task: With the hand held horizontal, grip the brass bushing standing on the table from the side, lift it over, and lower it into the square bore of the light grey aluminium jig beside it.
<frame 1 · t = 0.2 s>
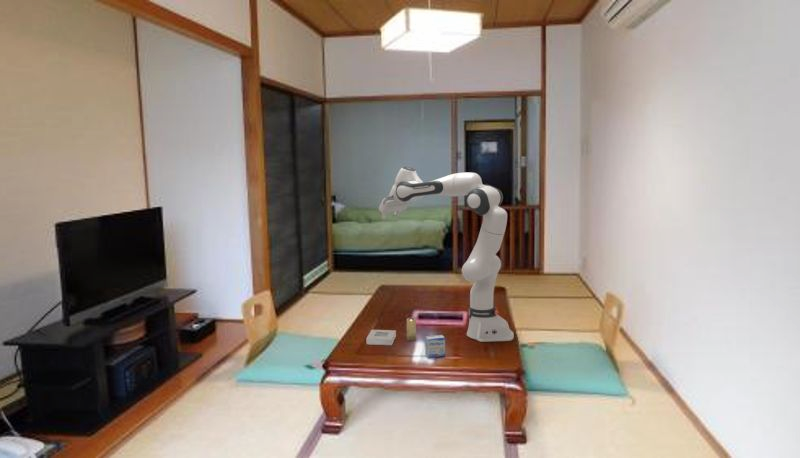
hand: (388, 217, 291), 54 cm above the table, tool tilted 25°, fingers open, 8 cm apart
medicine box: (435, 356, 242), on the table
brass bushing: (411, 339, 262), on the table
aluminium jig: (381, 340, 262), on the table
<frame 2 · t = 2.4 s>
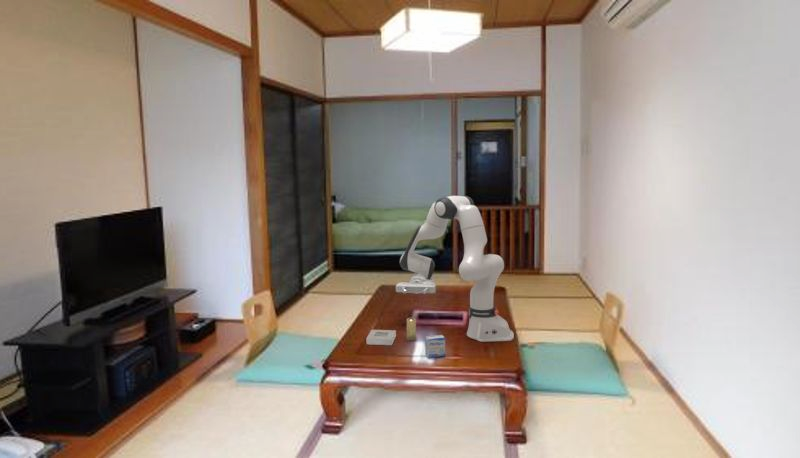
hand: (414, 292, 271), 20 cm above the table, tool horizontal, fingers open, 8 cm apart
nothing on the table moved.
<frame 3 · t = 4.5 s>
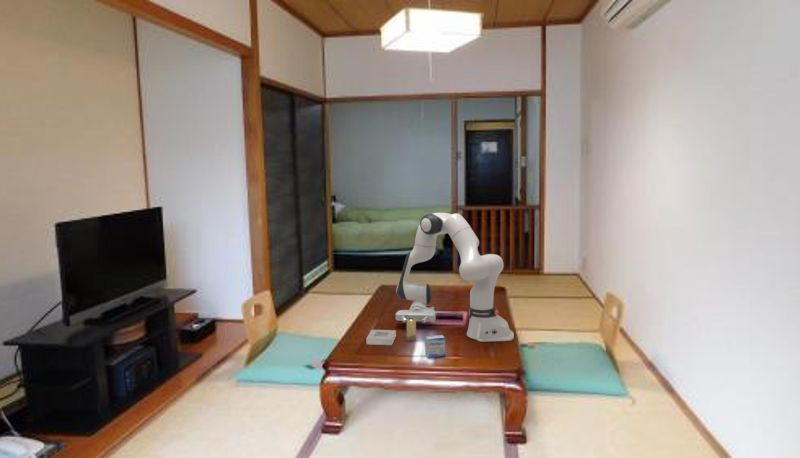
hand: (413, 321, 270), 6 cm above the table, tool horizontal, fingers open, 8 cm apart
nothing on the table moved.
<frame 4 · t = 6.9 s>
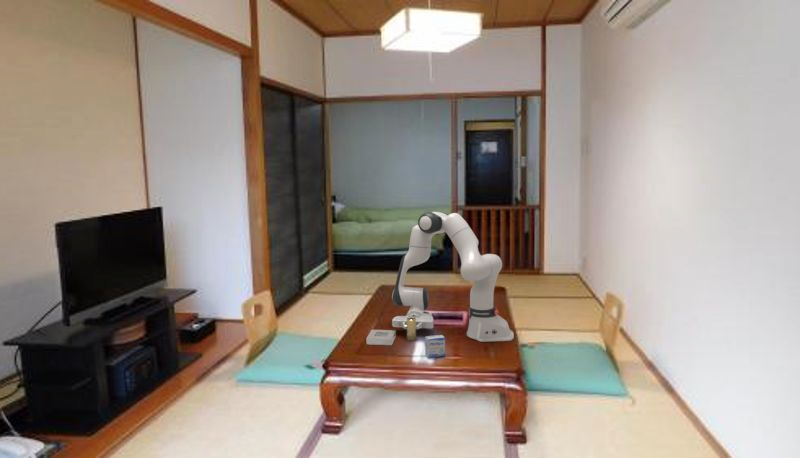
hand: (411, 327, 261), 6 cm above the table, tool horizontal, fingers closed on brass bushing, 4 cm apart
brass bushing: (411, 339, 262), on the table, touching gripper
everything else where it was.
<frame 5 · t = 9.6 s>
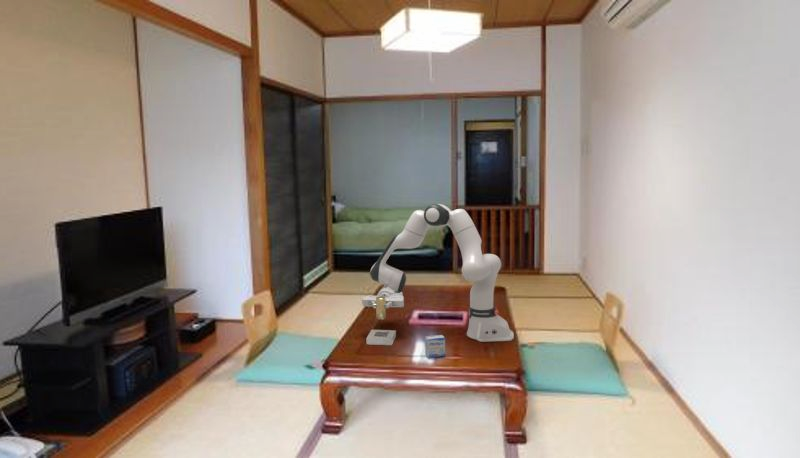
hand: (380, 306, 258), 17 cm above the table, tool horizontal, fingers closed on brass bushing, 4 cm apart
brass bushing: (381, 318, 260), point 11 cm above the table, touching gripper
everything else where it was.
when the fingers open (8 cm above the table, at t = 12.3 s): brass bushing drops 1 cm, resting in aluminium jig.
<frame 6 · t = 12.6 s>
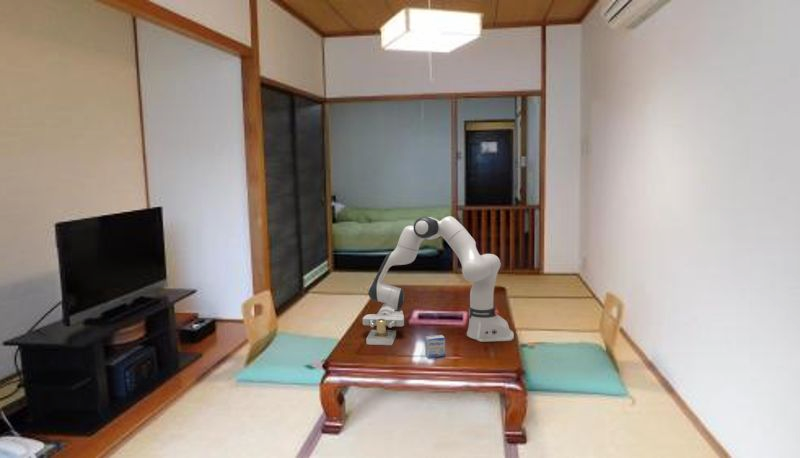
hand: (380, 325, 260), 8 cm above the table, tool horizontal, fingers open, 7 cm apart
brass bushing: (381, 340, 262), resting in aluminium jig
everything else where it was.
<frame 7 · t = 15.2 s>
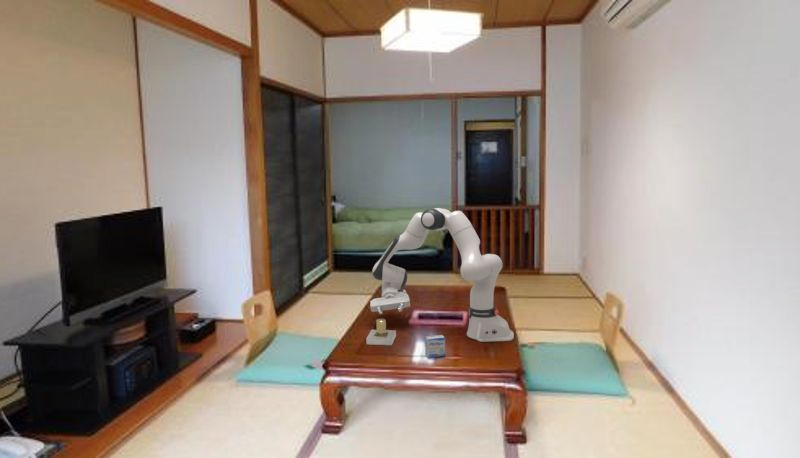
hand: (390, 311, 272), 10 cm above the table, tool tilted 75°, fingers open, 8 cm apart
nothing on the table moved.
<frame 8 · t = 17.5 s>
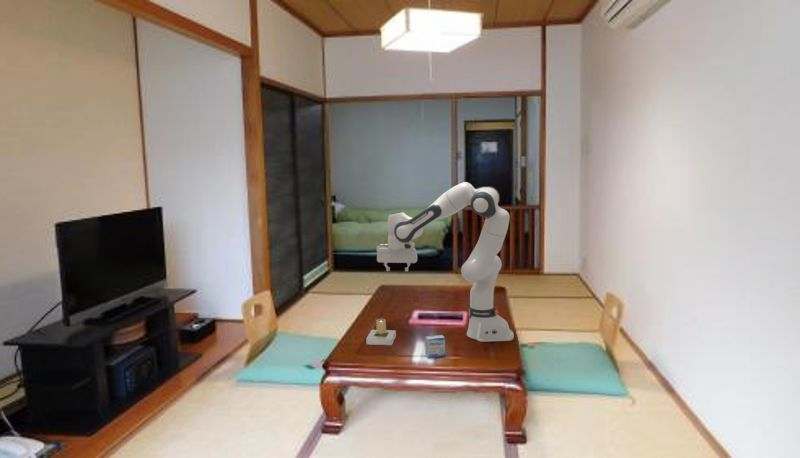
hand: (397, 271, 276), 29 cm above the table, tool pointing down, fingers open, 8 cm apart
nothing on the table moved.
at the end: brass bushing 0.0 cm off-centre on the aluminium jig, point 0.0 cm above the aluminium jig's base; brass bushing tilted 0°; the gripper is holding nothing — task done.
